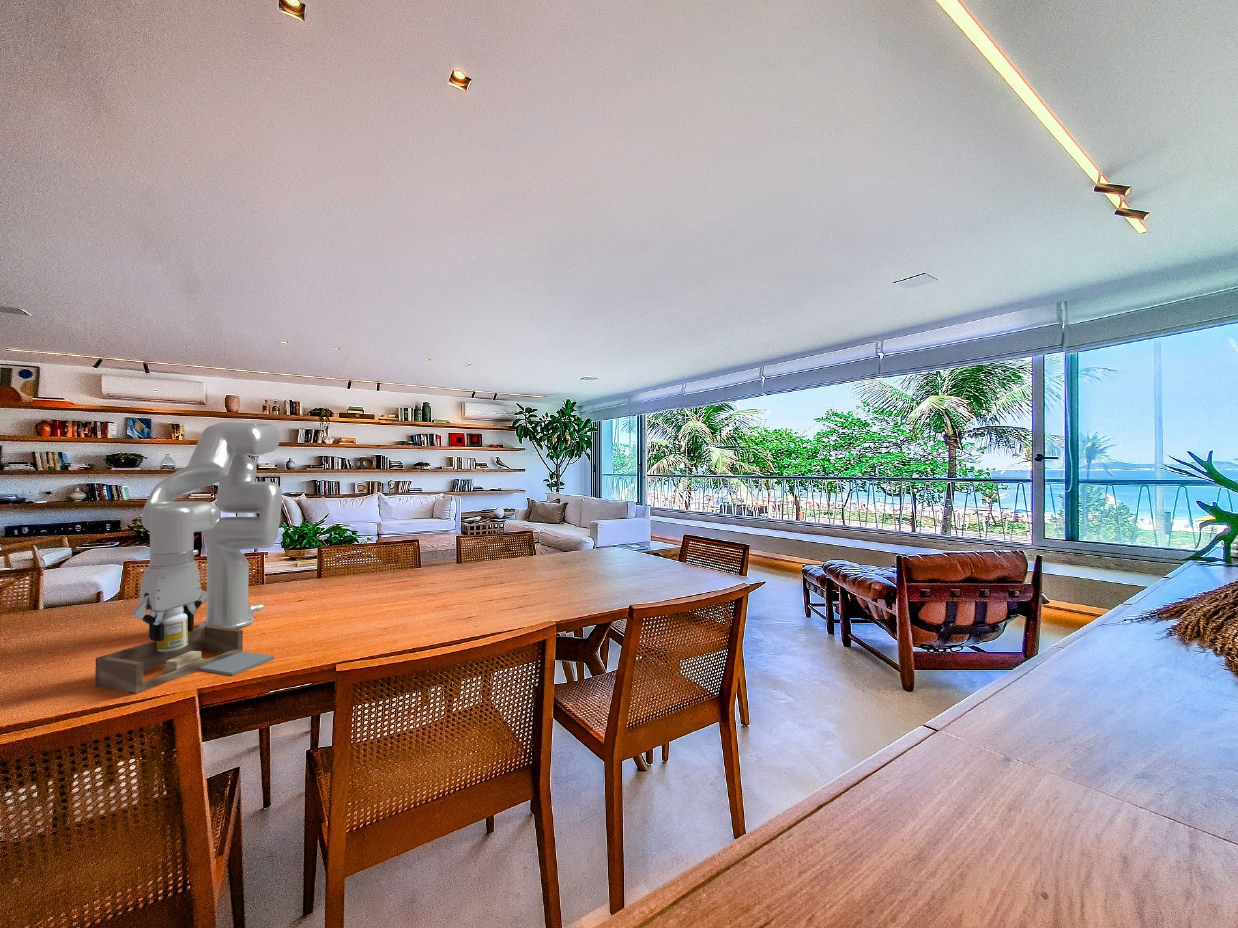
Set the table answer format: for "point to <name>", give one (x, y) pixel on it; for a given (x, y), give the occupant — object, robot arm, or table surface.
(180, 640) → the supplement bottle
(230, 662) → the mat
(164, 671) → the offcut lower
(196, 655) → the offcut upper
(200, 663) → the frame
